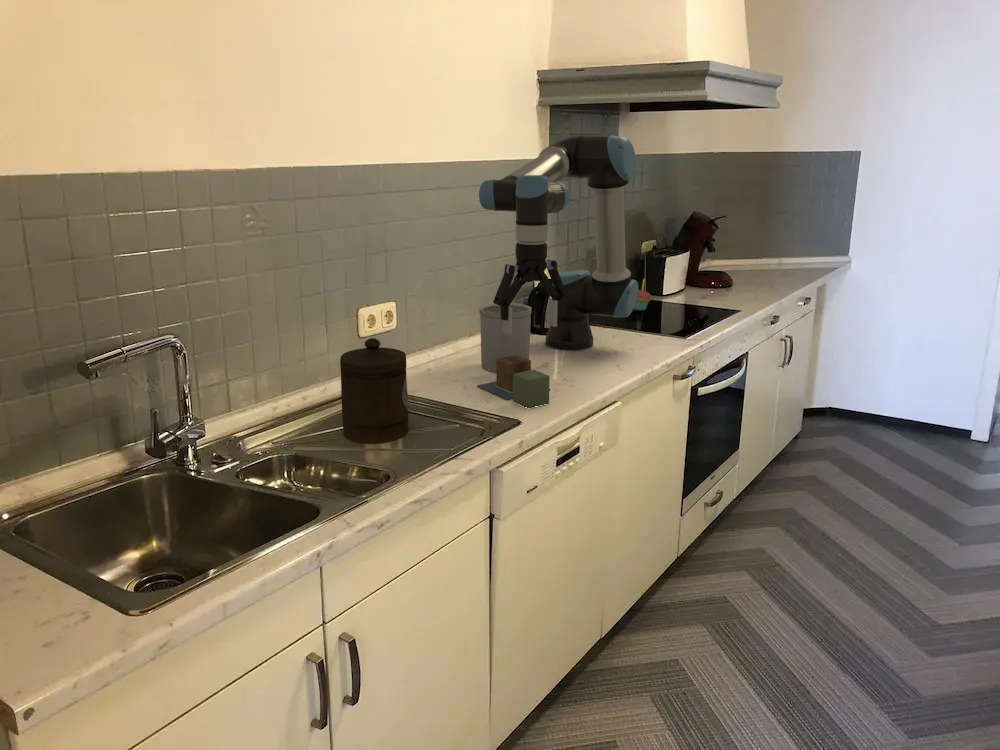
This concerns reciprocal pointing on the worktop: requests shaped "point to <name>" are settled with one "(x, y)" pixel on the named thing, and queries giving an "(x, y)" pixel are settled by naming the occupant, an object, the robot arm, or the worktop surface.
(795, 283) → the worktop surface
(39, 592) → the worktop surface
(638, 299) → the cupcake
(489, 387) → the blue square frame
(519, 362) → the walnut block
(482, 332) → the utensil holder
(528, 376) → the olive block
